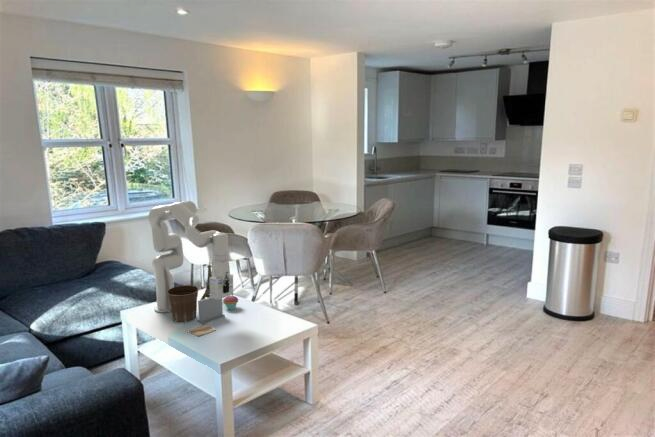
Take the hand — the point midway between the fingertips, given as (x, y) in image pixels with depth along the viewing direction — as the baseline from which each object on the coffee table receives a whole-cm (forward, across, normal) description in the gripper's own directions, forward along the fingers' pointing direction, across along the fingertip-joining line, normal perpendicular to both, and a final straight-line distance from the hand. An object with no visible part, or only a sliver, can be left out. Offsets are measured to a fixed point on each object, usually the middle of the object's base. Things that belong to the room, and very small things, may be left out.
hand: (221, 290), depth 234 cm
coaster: (+19, -1, -12) cm, 22 cm away
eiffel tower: (+20, -39, +19) cm, 48 cm away
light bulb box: (+3, 0, 0) cm, 3 cm away
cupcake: (+19, -16, +17) cm, 30 cm away
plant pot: (+19, -22, -9) cm, 31 cm away
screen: (+19, -10, 0) cm, 22 cm away
